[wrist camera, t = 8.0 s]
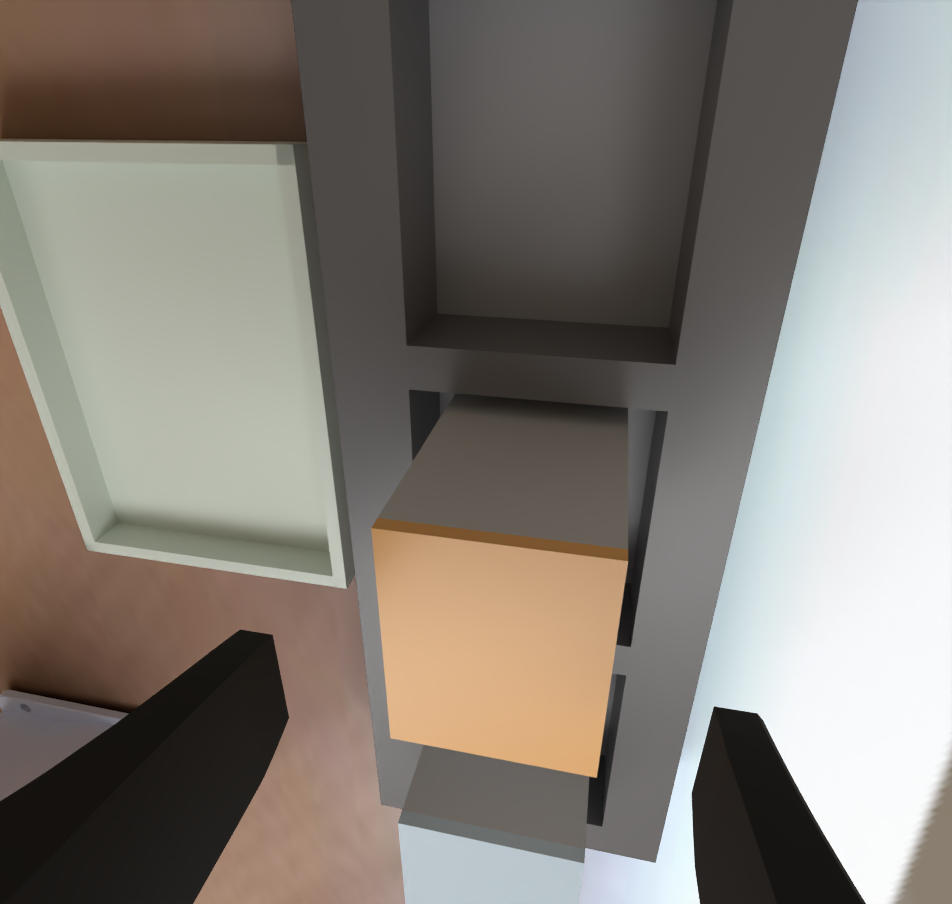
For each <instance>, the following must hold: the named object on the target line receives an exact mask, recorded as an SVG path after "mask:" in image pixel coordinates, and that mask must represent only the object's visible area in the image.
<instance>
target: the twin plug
mask: <svg viewBox="0 0 952 904" xmlns="http://www.w3.org/2000/svg"><path fill="white" fill-rule="evenodd" d="M588 791H589V776H584V775H579V774H574V773H569V772H564V771H558V770H553V769H548V768H543V767H538V766H532V765H527V764H522V763H517V762H512V761H506V760H501V759H496V758H491V757H486V756H480V755H475V754H470V753H465V752H460V751H454V750H449V749H444V748H439V747H434V746H428V745H423V748H422V751H421V754H420V757H419V760H418V764H417V767H416V770H415V773H414V776H413V779H412V782H411V785H410V788H409V791H408V794H407V797H406V800H405V803H404V807H403V810H402V813H401V816H400V819H399V822H398V827H399V838H400V849H401V860H402V870H403V881H404V892H405V902H406V904H578V903H579V896H580V889H581V882H582V875H583V868H584V858H585V841H586V824H587V807H588Z"/></svg>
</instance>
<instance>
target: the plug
mask: <svg viewBox="0 0 952 904" xmlns="http://www.w3.org/2000/svg"><path fill="white" fill-rule="evenodd" d="M371 531H372V542H373V553H374V564H375V575H376V586H377V596H378V607H379V618H380V629H381V640H382V651H383V662H384V673H385V684H386V695H387V706H388V717H389V728H390V738H392V739H397V740H402V741H408V742H413V743H418V744H423V745H428V746H434V747H439V748H444V749H449V750H454V751H460V752H465V753H470V754H475V755H480V756H486V757H491V758H496V759H501V760H506V761H512V762H517V763H522V764H527V765H532V766H538V767H543V768H548V769H553V770H558V771H564V772H569V773H574V774H579V775H584V776H590V777H595V778H597V773H598V766H599V759H600V752H601V745H602V738H603V731H604V724H605V717H606V711H607V704H608V697H609V690H610V683H611V676H612V669H613V662H614V655H615V648H616V642H617V635H618V628H619V621H620V614H621V607H622V600H623V593H624V586H625V579H626V573H627V566H628V408H621V407H609V406H597V405H586V404H574V403H562V402H550V401H539V400H527V399H515V398H503V397H491V396H480V395H468V394H456V393H455V395H454V396H453V398H452V399H451V401H450V403H449V404H448V406H447V407H446V409H445V411H444V412H443V414H442V415H441V417H440V419H439V420H438V422H437V423H436V425H435V427H434V428H433V430H432V431H431V433H430V435H429V436H428V438H427V439H426V441H425V443H424V444H423V446H422V448H421V449H420V451H419V452H418V454H417V456H416V457H415V459H414V460H413V462H412V464H411V465H410V467H409V468H408V470H407V472H406V473H405V475H404V476H403V478H402V480H401V481H400V483H399V484H398V486H397V488H396V489H395V491H394V492H393V494H392V496H391V497H390V499H389V500H388V502H387V504H386V505H385V507H384V508H383V510H382V512H381V513H380V515H379V517H378V518H377V520H376V521H375V523H374V525H373V526H372V528H371Z"/></svg>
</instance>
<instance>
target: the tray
mask: <svg viewBox="0 0 952 904" xmlns="http://www.w3.org/2000/svg"><path fill="white" fill-rule="evenodd" d="M0 306H1V309H2V312H3V315H4V318H5V320H6V323H7V326H8V329H9V332H10V335H11V337H12V340H13V343H14V346H15V349H16V351H17V354H18V357H19V360H20V363H21V365H22V368H23V371H24V374H25V377H26V379H27V382H28V385H29V388H30V391H31V393H32V396H33V399H34V402H35V405H36V408H37V410H38V413H39V416H40V419H41V422H42V424H43V427H44V430H45V433H46V436H47V438H48V441H49V444H50V447H51V450H52V452H53V455H54V458H55V461H56V464H57V466H58V469H59V472H60V475H61V478H62V481H63V483H64V486H65V489H66V492H67V495H68V497H69V500H70V503H71V506H72V509H73V511H74V514H75V517H76V520H77V523H78V525H79V528H80V531H81V534H82V537H83V539H84V542H85V545H86V548H87V550H88V551H95V552H102V553H108V554H115V555H122V556H129V557H135V558H142V559H149V560H156V561H162V562H169V563H176V564H183V565H189V566H196V567H203V568H210V569H216V570H223V571H230V572H237V573H243V574H250V575H257V576H264V577H271V578H277V579H284V580H291V581H298V582H304V583H311V584H318V585H325V586H331V587H338V588H345V589H347V588H348V586H349V584H350V582H351V581H352V579H353V577H354V576H355V567H354V558H353V549H352V540H351V531H350V522H349V513H348V504H347V495H346V486H345V477H344V468H343V459H342V450H341V441H340V432H339V423H338V415H337V406H336V397H335V388H334V379H333V370H332V361H331V352H330V343H329V334H328V325H327V316H326V307H325V298H324V289H323V280H322V271H321V262H320V253H319V244H318V236H317V227H316V218H315V209H314V200H313V191H312V182H311V173H310V164H309V155H308V146H307V142H284V141H187V140H90V139H0Z"/></svg>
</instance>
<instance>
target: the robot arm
mask: <svg viewBox="0 0 952 904" xmlns="http://www.w3.org/2000/svg"><path fill="white" fill-rule="evenodd" d="M0 708H1V710H2V712H1V713H0V904H193V903H194V901H195V899H196V898H197V896H198V894H199V892H200V890H201V889H202V887H203V885H204V883H205V882H206V880H207V878H208V876H209V875H210V873H211V871H212V869H213V868H214V866H215V864H216V862H217V860H218V859H219V857H220V855H221V853H222V852H223V850H224V848H225V846H226V845H227V843H228V841H229V839H230V838H231V836H232V834H233V832H234V830H235V829H236V827H237V825H238V823H239V822H240V820H241V818H242V816H243V814H244V813H245V811H246V809H247V807H248V805H249V804H250V802H251V800H252V798H253V796H254V795H255V793H256V791H257V789H258V787H259V785H260V784H261V782H262V780H263V778H264V776H265V774H266V771H267V769H268V767H269V765H270V762H271V760H272V758H273V755H274V753H275V751H276V748H277V746H278V743H279V741H280V739H281V736H282V734H283V731H284V729H285V726H286V724H287V721H288V719H289V716H288V711H287V706H286V701H285V695H284V690H283V685H282V680H281V675H280V670H279V665H278V660H277V655H276V650H275V645H274V640H273V635H270V634H264V633H257V632H251V631H245V630H239V631H238V632H236V633H235V634H234V635H232V636H231V637H230V638H228V639H227V640H226V641H224V642H223V643H222V644H220V645H219V646H218V647H216V648H215V649H214V650H212V651H211V652H210V653H208V654H207V655H206V656H205V657H203V658H202V659H201V660H199V661H198V662H197V663H195V664H194V665H193V666H192V667H190V668H189V669H188V670H186V671H185V672H184V673H182V674H181V675H180V676H178V677H177V678H176V679H175V680H173V681H172V682H171V683H169V684H168V685H167V686H165V687H164V688H163V689H161V690H160V691H159V692H157V693H156V694H155V695H153V696H152V697H151V698H149V699H148V700H147V701H145V702H144V703H143V704H141V705H140V706H139V707H137V708H136V709H135V710H133V711H132V712H131V713H124V712H119V711H114V710H109V709H104V708H99V707H94V706H89V705H84V704H79V703H74V702H69V701H64V700H59V699H54V698H49V697H44V696H39V695H34V694H29V693H24V692H19V691H14V690H4V691H3V692H2V693H1V694H0ZM692 811H693V836H694V856H695V870H696V877H697V885H698V892H699V899H700V904H866V903H865V902H864V900H863V898H862V897H861V895H860V894H859V892H858V890H857V889H856V887H855V886H854V884H853V882H852V881H851V879H850V877H849V876H848V874H847V872H846V871H845V869H844V867H843V866H842V864H841V862H840V861H839V859H838V857H837V855H836V854H835V852H834V850H833V849H832V847H831V845H830V844H829V842H828V840H827V839H826V837H825V835H824V834H823V832H822V830H821V829H820V827H819V825H818V823H817V822H816V820H815V818H814V816H813V815H812V813H811V811H810V809H809V807H808V806H807V804H806V802H805V800H804V798H803V796H802V795H801V793H800V791H799V789H798V787H797V786H796V784H795V782H794V780H793V778H792V776H791V774H790V773H789V771H788V769H787V767H786V765H785V763H784V761H783V759H782V757H781V755H780V753H779V752H778V750H777V748H776V746H775V744H774V742H773V740H772V738H771V736H770V734H769V732H768V730H767V728H766V725H765V723H764V721H763V720H762V719H761V718H760V716H759V715H758V714H756V713H750V712H744V711H738V710H732V709H726V708H719V707H714V709H713V713H712V716H711V720H710V724H709V728H708V732H707V736H706V740H705V744H704V748H703V752H702V755H701V759H700V763H699V767H698V771H697V775H696V779H695V783H694V787H693V791H692Z"/></svg>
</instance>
